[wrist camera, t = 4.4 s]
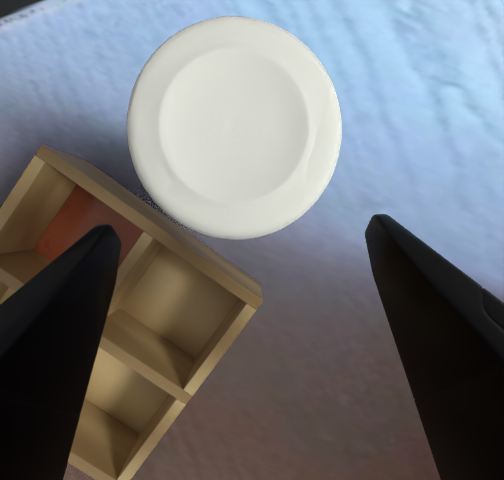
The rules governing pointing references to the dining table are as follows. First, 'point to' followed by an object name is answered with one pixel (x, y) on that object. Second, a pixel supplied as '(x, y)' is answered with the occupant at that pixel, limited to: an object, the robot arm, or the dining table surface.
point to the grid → (127, 304)
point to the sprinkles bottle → (234, 127)
